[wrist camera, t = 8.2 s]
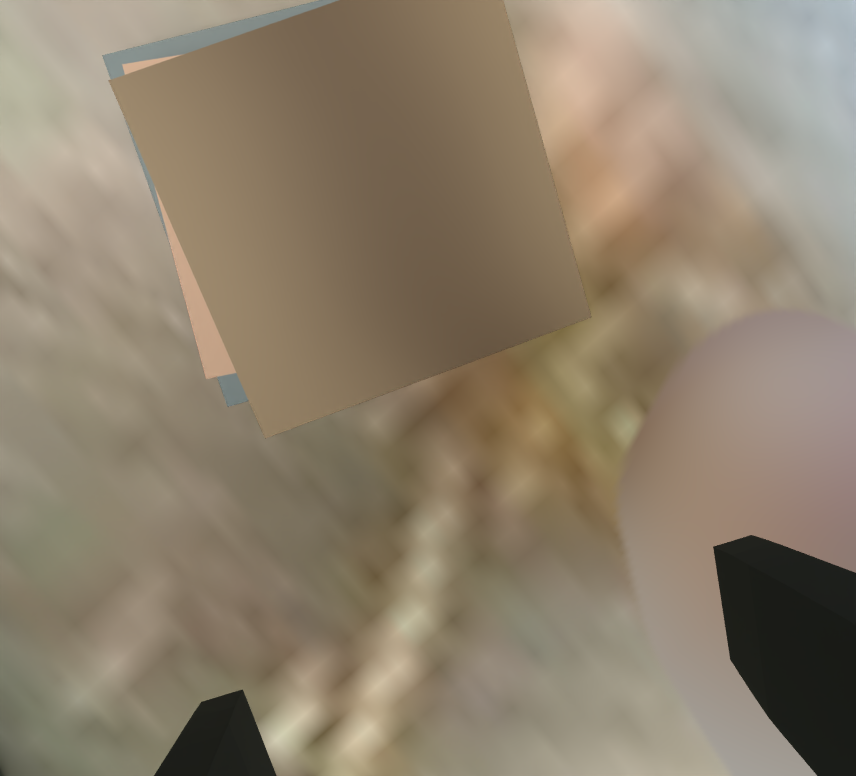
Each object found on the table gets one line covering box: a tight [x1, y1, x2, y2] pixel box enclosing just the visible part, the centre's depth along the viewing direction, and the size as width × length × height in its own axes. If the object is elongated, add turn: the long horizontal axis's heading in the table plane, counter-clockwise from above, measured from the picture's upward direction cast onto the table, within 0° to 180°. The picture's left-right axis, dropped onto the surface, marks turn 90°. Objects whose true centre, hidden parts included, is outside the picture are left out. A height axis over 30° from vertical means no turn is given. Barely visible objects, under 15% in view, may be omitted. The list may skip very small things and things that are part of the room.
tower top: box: [122, 55, 236, 379], centre depth 16 cm, size 6×6×2 cm
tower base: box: [102, 0, 338, 407], centre depth 19 cm, size 8×8×2 cm
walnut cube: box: [109, 0, 591, 438], centre depth 13 cm, size 5×5×5 cm
